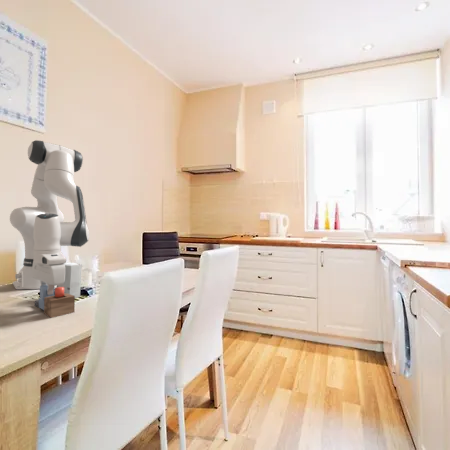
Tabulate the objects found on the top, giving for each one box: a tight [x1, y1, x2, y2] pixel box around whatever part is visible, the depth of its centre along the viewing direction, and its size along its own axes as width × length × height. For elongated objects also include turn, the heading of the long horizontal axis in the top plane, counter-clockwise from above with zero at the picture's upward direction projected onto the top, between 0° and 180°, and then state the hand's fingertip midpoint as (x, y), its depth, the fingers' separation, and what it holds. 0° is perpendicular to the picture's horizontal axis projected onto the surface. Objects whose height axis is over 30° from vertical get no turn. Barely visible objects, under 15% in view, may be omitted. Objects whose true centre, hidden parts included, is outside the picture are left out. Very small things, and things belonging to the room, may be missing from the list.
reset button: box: [54, 286, 64, 297], centre depth 108 cm, size 3×3×3 cm
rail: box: [34, 299, 42, 310], centre depth 113 cm, size 13×2×2 cm, turn 52°
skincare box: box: [56, 261, 83, 299], centre depth 128 cm, size 8×6×15 cm
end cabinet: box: [43, 293, 76, 319], centre depth 108 cm, size 6×8×6 cm
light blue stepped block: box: [38, 285, 55, 311], centre depth 111 cm, size 5×4×8 cm
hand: (47, 293), depth 111 cm, fingers closed on light blue stepped block, 2 cm apart
